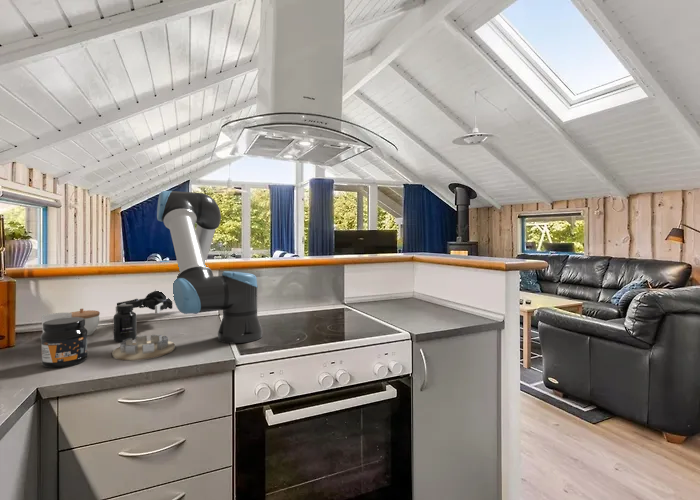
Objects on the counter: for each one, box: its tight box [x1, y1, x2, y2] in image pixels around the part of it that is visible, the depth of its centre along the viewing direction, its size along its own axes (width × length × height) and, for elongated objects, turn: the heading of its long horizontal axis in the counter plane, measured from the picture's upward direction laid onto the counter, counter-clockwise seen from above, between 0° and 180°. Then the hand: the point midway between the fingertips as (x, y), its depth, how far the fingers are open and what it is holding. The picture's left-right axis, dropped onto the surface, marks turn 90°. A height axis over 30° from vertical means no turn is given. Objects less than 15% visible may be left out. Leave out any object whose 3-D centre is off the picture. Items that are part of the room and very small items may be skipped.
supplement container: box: [40, 317, 89, 369], centre depth 107 cm, size 10×10×12 cm
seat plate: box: [112, 340, 176, 361], centre depth 118 cm, size 17×17×1 cm
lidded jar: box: [70, 308, 101, 336], centre depth 137 cm, size 11×11×9 cm
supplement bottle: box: [112, 304, 137, 343], centre depth 130 cm, size 7×7×12 cm
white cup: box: [41, 312, 72, 333], centre depth 123 cm, size 8×8×10 cm
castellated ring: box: [119, 334, 169, 355], centre depth 118 cm, size 13×13×2 cm
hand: (136, 309), depth 140 cm, fingers open, 13 cm apart
